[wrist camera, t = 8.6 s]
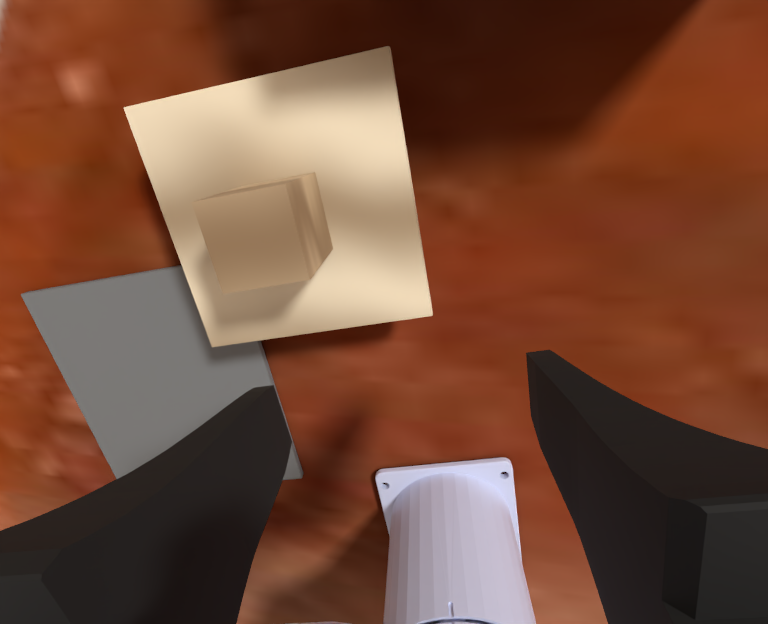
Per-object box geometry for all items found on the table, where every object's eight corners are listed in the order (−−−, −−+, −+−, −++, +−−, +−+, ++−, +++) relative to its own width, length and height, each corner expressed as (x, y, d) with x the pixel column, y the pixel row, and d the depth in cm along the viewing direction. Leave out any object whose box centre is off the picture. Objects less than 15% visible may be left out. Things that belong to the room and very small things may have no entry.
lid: (432, 308, 19) (435, 361, 15) (219, 339, 21) (164, 396, 16) (390, 49, 16) (378, 17, 11) (136, 108, 17) (36, 100, 13)
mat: (303, 473, 27) (301, 478, 27) (128, 490, 29) (125, 495, 29) (233, 256, 22) (230, 258, 22) (26, 292, 24) (20, 294, 24)
